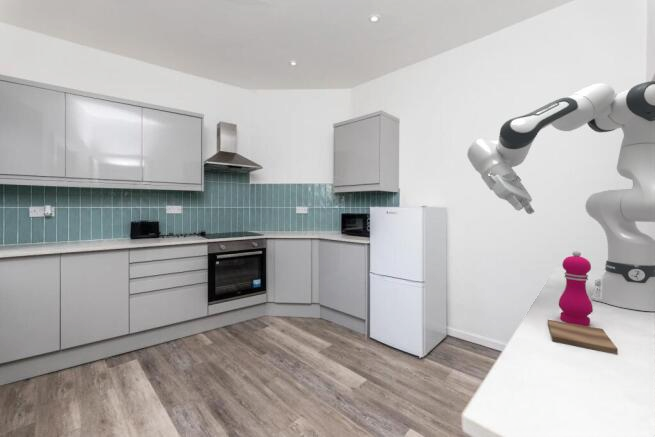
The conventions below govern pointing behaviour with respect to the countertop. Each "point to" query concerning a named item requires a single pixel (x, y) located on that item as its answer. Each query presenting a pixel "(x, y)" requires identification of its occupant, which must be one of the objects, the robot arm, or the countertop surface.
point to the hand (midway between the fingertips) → (526, 211)
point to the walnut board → (581, 336)
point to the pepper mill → (576, 291)
